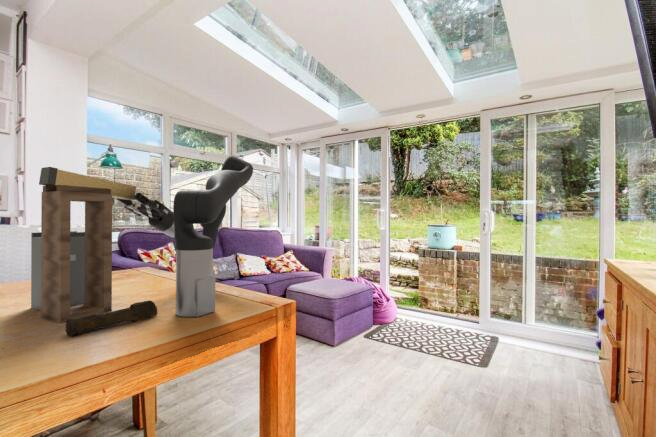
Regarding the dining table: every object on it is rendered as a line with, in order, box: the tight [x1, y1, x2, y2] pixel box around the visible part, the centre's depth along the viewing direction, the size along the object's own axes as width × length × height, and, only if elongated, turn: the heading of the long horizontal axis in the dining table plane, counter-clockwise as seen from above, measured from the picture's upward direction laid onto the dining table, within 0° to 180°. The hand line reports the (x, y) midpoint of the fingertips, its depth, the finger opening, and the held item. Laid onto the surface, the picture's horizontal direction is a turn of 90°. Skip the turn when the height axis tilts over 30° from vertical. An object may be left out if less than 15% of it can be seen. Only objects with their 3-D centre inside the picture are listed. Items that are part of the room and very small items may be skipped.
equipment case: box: [30, 230, 85, 311], centre depth 95 cm, size 9×11×21 cm
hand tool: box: [65, 300, 158, 338], centre depth 77 cm, size 19×4×5 cm, turn 141°
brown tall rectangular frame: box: [40, 185, 113, 324], centre depth 86 cm, size 9×12×34 cm
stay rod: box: [38, 166, 137, 201], centre depth 89 cm, size 4×22×4 cm, turn 153°
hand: (127, 195), depth 98 cm, fingers open, 8 cm apart
